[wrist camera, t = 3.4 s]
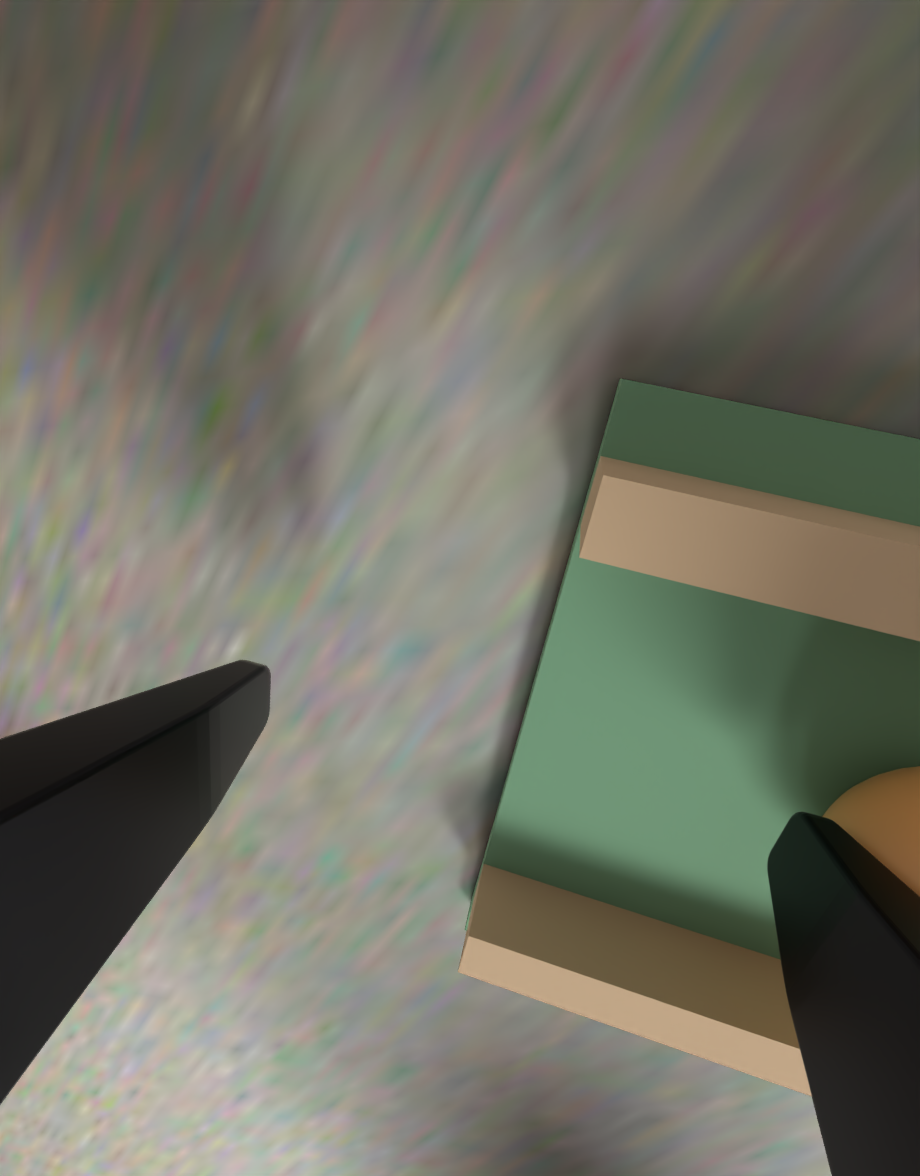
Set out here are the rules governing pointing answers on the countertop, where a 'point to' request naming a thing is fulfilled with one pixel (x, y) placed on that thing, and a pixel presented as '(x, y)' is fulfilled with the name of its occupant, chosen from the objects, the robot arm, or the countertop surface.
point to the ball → (885, 820)
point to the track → (701, 716)
